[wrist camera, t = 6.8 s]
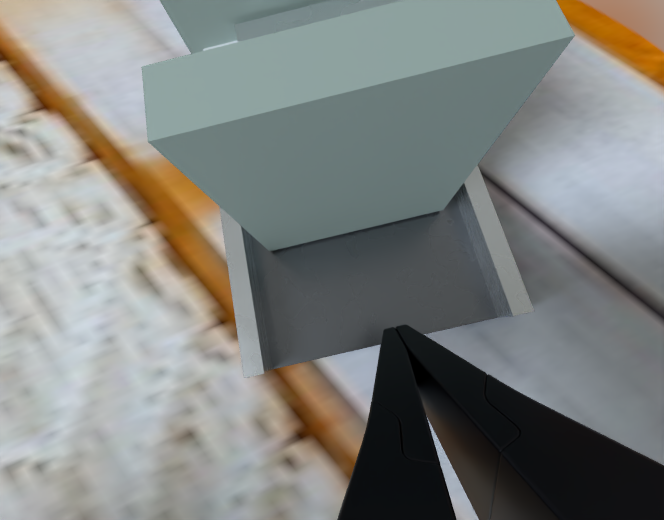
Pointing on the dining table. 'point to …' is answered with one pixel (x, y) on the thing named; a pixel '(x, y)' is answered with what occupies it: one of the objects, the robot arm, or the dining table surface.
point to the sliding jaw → (351, 112)
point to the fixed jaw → (221, 18)
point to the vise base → (372, 282)
